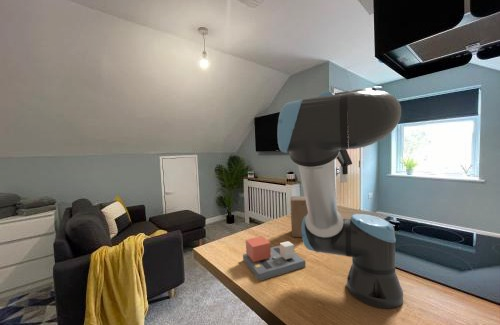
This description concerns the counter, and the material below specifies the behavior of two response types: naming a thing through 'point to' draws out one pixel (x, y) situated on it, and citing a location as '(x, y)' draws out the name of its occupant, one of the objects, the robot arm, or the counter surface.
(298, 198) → the wooden block
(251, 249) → the cap
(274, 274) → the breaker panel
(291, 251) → the block
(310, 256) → the counter surface
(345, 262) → the counter surface
